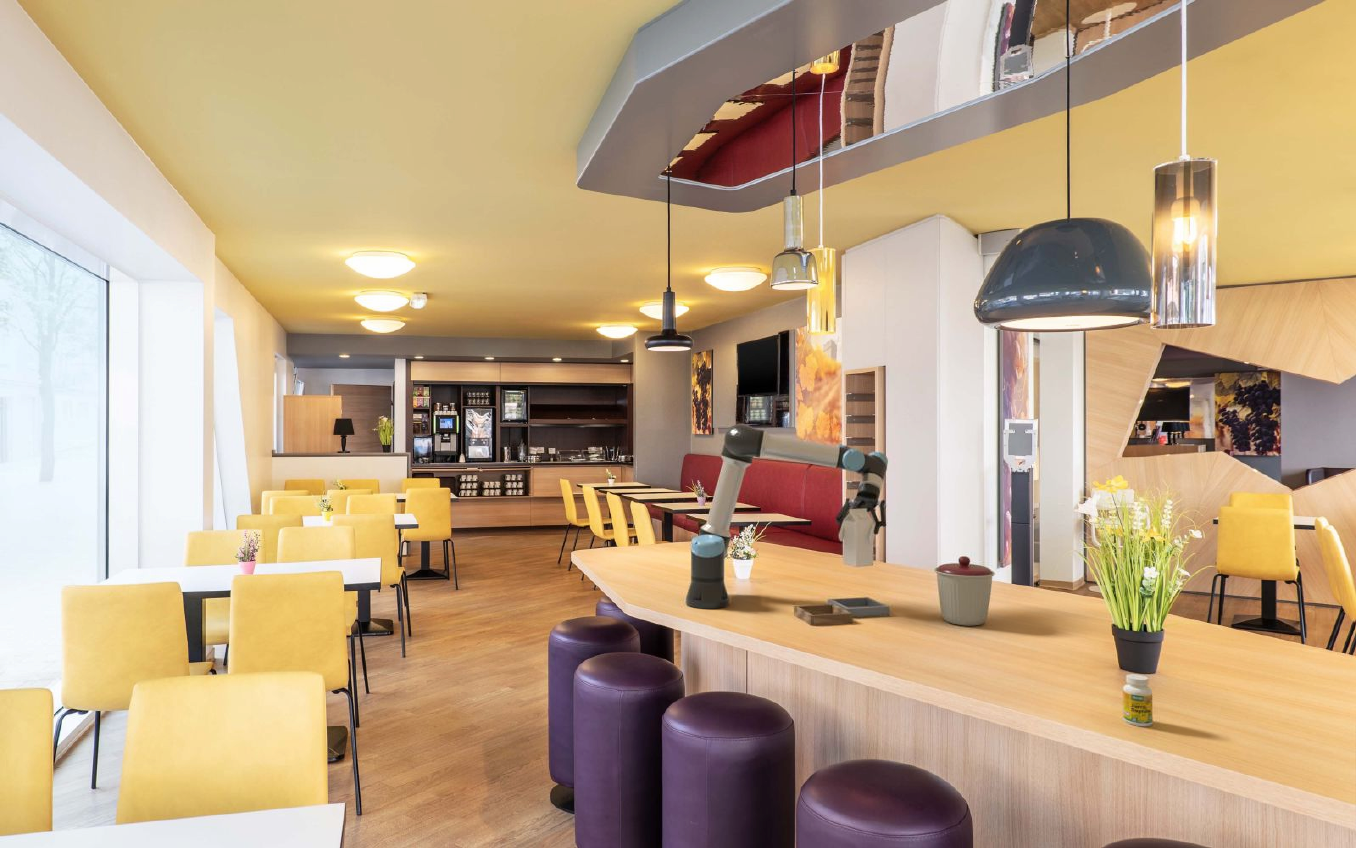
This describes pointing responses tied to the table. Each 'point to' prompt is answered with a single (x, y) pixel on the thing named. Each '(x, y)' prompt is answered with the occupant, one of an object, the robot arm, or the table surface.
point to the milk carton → (857, 538)
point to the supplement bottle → (1137, 701)
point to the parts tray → (861, 606)
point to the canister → (964, 592)
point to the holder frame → (822, 614)
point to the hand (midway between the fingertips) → (855, 539)
